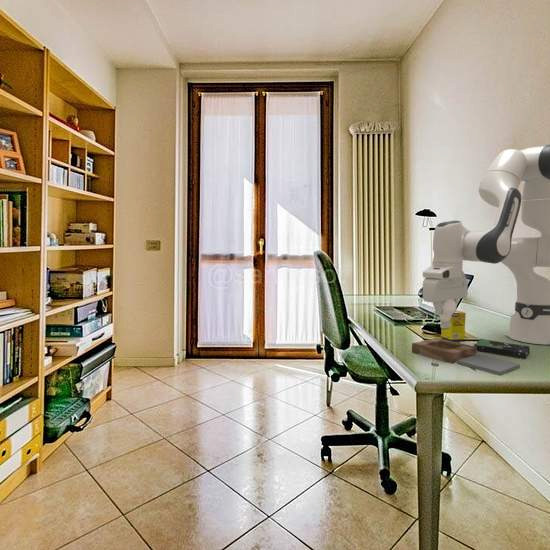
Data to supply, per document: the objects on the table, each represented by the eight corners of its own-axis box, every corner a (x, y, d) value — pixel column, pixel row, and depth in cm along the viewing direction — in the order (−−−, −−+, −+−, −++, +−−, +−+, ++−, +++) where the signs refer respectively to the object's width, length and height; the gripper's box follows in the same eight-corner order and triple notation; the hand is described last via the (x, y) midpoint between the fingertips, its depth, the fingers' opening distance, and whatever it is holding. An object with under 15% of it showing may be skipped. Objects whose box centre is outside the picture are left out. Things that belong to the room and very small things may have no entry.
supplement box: (464, 341, 135) (466, 312, 135) (450, 341, 135) (451, 312, 134) (454, 337, 141) (455, 309, 141) (440, 338, 140) (441, 310, 140)
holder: (436, 346, 128) (436, 337, 128) (476, 355, 117) (476, 346, 117) (411, 352, 121) (412, 343, 120) (452, 363, 109) (452, 353, 109)
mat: (477, 357, 116) (477, 354, 115) (519, 367, 106) (519, 364, 106) (457, 363, 109) (457, 360, 109) (499, 375, 99) (500, 371, 99)
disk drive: (529, 354, 121) (479, 345, 131) (529, 346, 121) (480, 338, 131) (525, 361, 114) (473, 351, 123) (526, 352, 113) (473, 343, 123)
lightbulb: (447, 326, 122) (448, 294, 121) (459, 331, 116) (461, 297, 115) (430, 327, 121) (431, 294, 120) (441, 332, 115) (443, 297, 114)
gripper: (455, 269, 125) (453, 308, 126) (419, 272, 114) (418, 315, 115) (473, 270, 120) (472, 311, 121) (437, 273, 109) (436, 318, 110)
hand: (445, 313), depth 118 cm, fingers closed on lightbulb, 6 cm apart
